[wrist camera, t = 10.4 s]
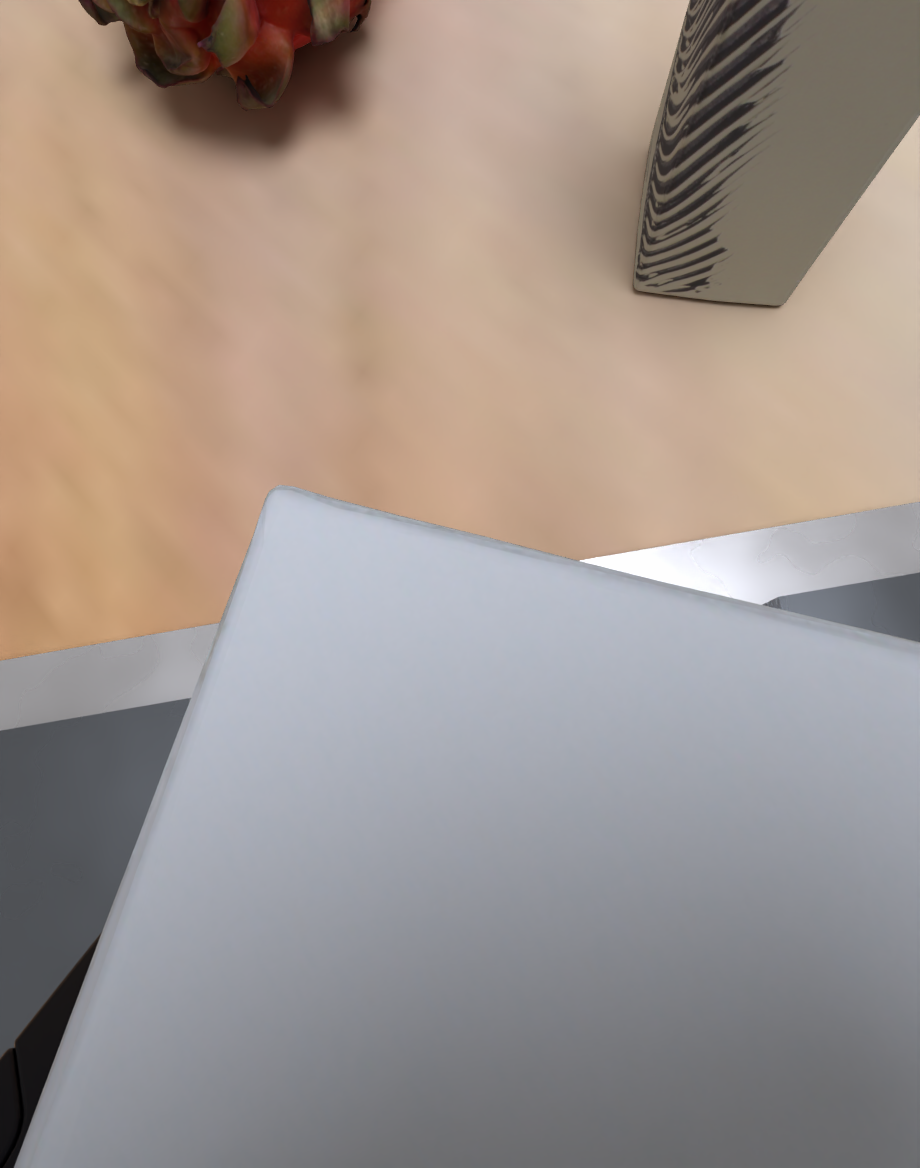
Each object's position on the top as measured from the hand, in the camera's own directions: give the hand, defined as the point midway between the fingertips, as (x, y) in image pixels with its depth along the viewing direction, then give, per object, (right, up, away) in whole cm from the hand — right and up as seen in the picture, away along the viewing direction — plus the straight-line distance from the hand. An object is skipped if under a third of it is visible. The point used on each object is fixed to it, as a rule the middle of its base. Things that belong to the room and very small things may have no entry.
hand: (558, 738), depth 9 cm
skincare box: (+1, -3, +7) cm, 7 cm away
